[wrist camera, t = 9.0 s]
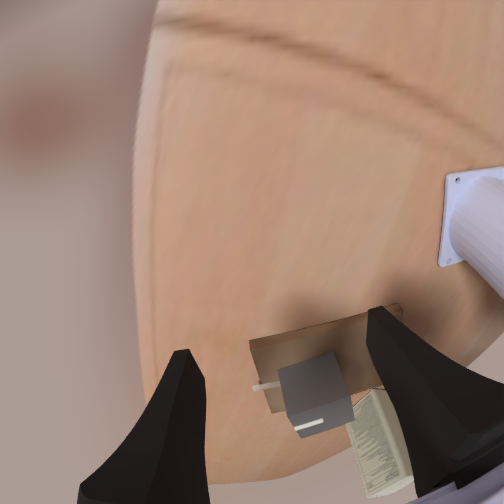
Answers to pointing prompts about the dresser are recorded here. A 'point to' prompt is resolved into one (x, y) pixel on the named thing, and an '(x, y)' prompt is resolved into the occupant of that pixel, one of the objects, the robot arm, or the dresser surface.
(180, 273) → the dresser surface
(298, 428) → the mini file drawer
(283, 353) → the board
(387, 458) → the skincare box
